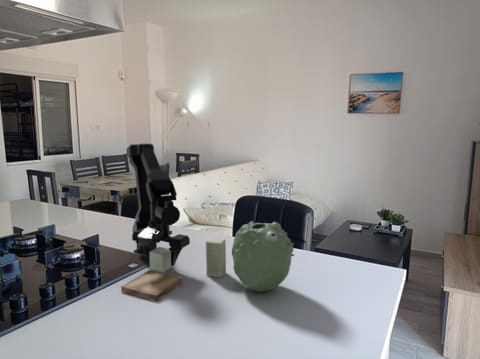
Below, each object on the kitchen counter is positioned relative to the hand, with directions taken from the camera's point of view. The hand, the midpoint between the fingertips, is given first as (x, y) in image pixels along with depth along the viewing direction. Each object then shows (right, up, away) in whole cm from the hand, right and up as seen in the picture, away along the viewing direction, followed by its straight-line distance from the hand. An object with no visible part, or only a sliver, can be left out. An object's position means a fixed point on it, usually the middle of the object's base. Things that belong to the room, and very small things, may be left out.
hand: (160, 263), depth 116 cm
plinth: (0, -4, -13) cm, 14 cm away
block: (0, -2, 0) cm, 2 cm away
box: (+18, -3, -4) cm, 19 cm away
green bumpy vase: (+31, -4, -13) cm, 34 cm away
